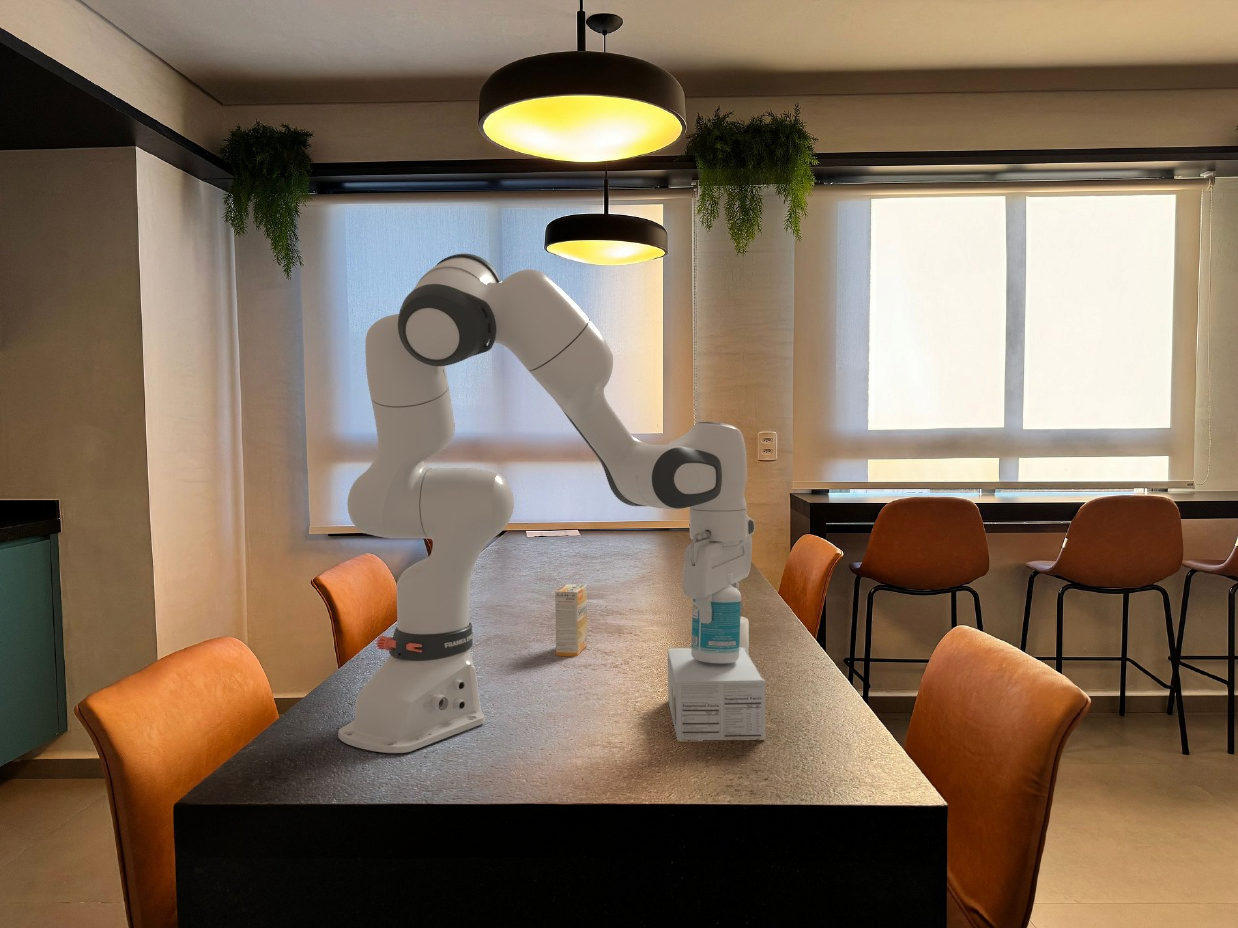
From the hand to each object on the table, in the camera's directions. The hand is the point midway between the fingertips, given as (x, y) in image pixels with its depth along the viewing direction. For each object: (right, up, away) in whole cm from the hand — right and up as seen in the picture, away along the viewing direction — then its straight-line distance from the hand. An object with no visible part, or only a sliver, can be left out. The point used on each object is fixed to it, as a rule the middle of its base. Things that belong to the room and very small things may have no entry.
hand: (718, 615), depth 123 cm
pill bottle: (-1, -7, -1) cm, 7 cm away
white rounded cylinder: (+5, -15, +27) cm, 31 cm away
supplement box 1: (-25, -15, +38) cm, 48 cm away
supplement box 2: (-1, -17, 0) cm, 17 cm away
